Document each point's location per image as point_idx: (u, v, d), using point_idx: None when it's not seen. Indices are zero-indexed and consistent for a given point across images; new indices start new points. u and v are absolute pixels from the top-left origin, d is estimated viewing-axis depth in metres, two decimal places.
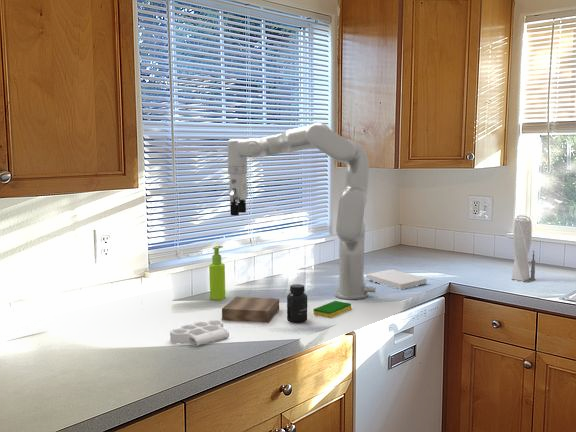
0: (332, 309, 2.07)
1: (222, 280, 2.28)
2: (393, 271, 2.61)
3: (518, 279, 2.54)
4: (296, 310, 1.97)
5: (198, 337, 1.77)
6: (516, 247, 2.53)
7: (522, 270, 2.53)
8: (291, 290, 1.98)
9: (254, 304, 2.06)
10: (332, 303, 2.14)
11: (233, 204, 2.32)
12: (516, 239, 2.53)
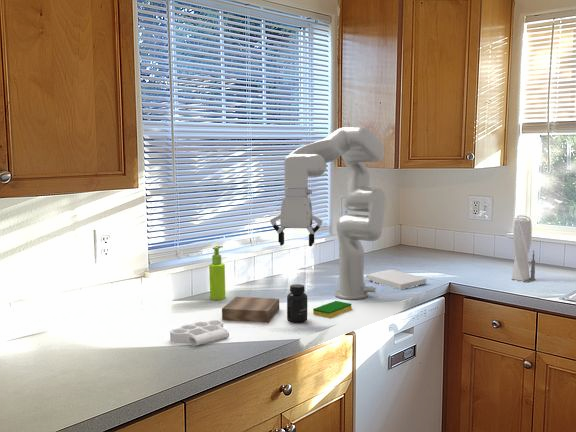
0: (332, 309, 2.07)
1: (222, 280, 2.28)
2: (393, 271, 2.61)
3: (518, 279, 2.54)
4: (296, 310, 1.97)
5: (198, 337, 1.77)
6: (516, 247, 2.53)
7: (522, 270, 2.53)
8: (291, 290, 1.98)
9: (254, 304, 2.06)
10: (332, 303, 2.14)
11: None
12: (516, 239, 2.53)
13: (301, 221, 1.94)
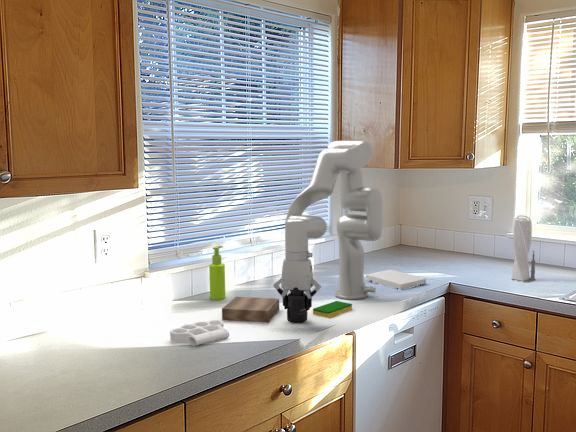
0: (331, 309, 2.07)
1: (222, 280, 2.28)
2: (392, 271, 2.61)
3: (518, 279, 2.54)
4: (296, 310, 1.97)
5: (198, 337, 1.77)
6: (516, 247, 2.53)
7: (522, 270, 2.53)
8: (291, 290, 1.98)
9: (254, 304, 2.06)
10: (333, 303, 2.14)
11: (312, 296, 1.98)
12: (516, 239, 2.53)
13: (302, 284, 1.96)
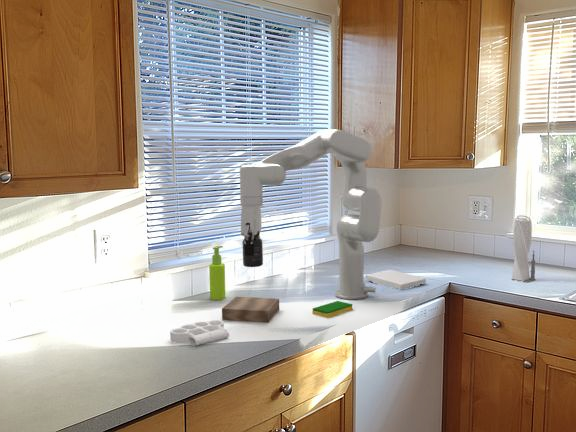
0: (331, 309, 2.07)
1: (222, 280, 2.28)
2: (391, 271, 2.60)
3: (518, 279, 2.54)
4: (262, 252, 2.05)
5: (198, 337, 1.77)
6: (516, 247, 2.53)
7: (522, 270, 2.53)
8: (255, 235, 2.02)
9: (254, 304, 2.06)
10: (333, 303, 2.14)
11: None
12: (516, 239, 2.53)
13: (260, 226, 2.06)
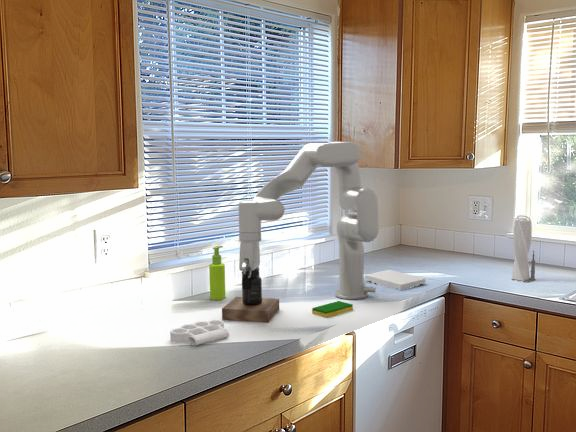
0: (330, 309, 2.07)
1: (222, 280, 2.28)
2: (391, 271, 2.60)
3: (518, 279, 2.54)
4: (261, 290, 2.07)
5: (197, 337, 1.77)
6: (516, 247, 2.53)
7: (522, 270, 2.53)
8: (255, 274, 2.05)
9: None
10: (334, 303, 2.14)
11: None
12: (516, 239, 2.53)
13: (258, 261, 2.07)
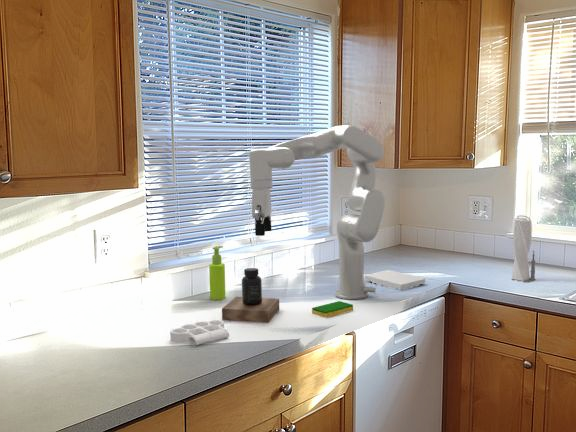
0: (329, 309, 2.07)
1: (222, 280, 2.28)
2: (390, 272, 2.60)
3: (518, 279, 2.54)
4: (261, 290, 2.07)
5: (197, 337, 1.77)
6: (516, 247, 2.53)
7: (522, 270, 2.53)
8: (255, 274, 2.05)
9: None
10: (334, 303, 2.14)
11: None
12: (516, 239, 2.53)
13: (270, 209, 2.11)
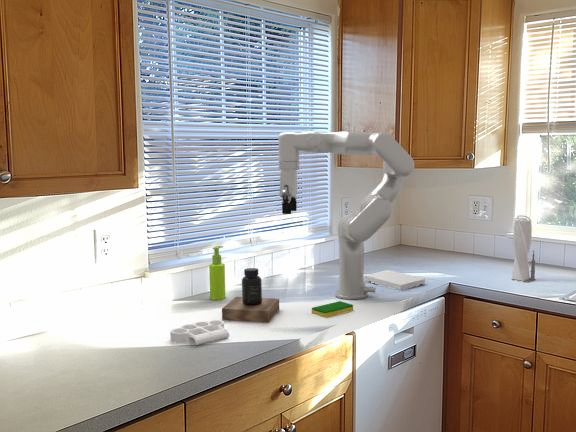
0: (329, 309, 2.07)
1: (222, 280, 2.28)
2: (390, 272, 2.60)
3: (518, 279, 2.54)
4: (261, 290, 2.07)
5: (197, 337, 1.77)
6: (516, 247, 2.53)
7: (522, 270, 2.53)
8: (255, 274, 2.05)
9: None
10: (334, 303, 2.14)
11: None
12: (516, 239, 2.53)
13: (296, 189, 2.24)
